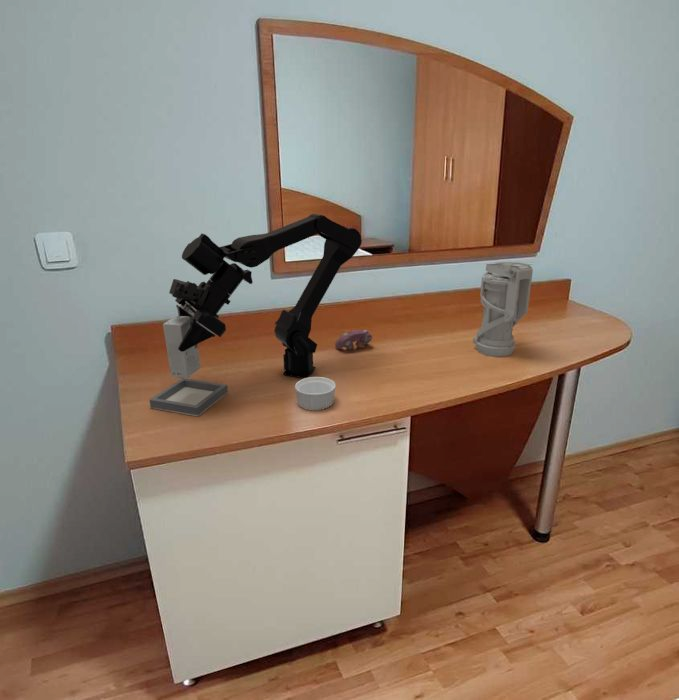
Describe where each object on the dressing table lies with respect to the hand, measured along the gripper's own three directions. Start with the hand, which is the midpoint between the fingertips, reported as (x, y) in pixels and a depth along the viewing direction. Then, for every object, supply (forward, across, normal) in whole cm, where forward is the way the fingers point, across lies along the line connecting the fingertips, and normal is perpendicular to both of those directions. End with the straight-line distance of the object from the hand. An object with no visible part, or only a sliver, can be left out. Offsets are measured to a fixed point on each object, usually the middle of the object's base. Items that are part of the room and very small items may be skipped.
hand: (175, 345), depth 110 cm
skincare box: (+4, 0, +6) cm, 7 cm away
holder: (+8, +1, +10) cm, 13 cm away
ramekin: (-8, +16, +27) cm, 33 cm away
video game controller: (-25, -8, +45) cm, 52 cm away
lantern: (-47, +15, +68) cm, 84 cm away
